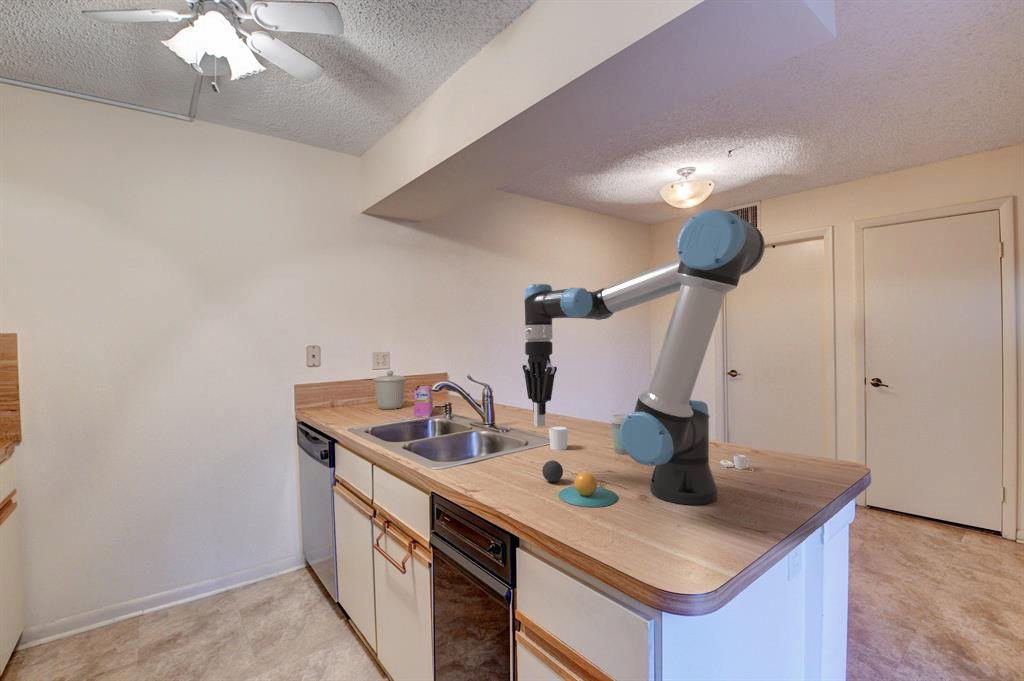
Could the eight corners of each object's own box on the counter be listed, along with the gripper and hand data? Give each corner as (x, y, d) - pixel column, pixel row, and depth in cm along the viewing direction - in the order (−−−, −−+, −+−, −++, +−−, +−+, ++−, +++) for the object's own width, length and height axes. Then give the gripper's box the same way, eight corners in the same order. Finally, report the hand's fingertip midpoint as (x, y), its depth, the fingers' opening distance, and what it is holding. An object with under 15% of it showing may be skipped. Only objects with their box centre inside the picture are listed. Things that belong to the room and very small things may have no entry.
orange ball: (583, 473, 111) (591, 495, 108) (566, 477, 108) (574, 500, 105) (596, 467, 107) (605, 490, 104) (579, 471, 104) (588, 494, 101)
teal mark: (630, 498, 103) (630, 497, 103) (586, 512, 96) (586, 511, 96) (588, 482, 115) (588, 482, 115) (546, 493, 107) (546, 492, 107)
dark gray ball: (552, 461, 121) (557, 481, 119) (536, 464, 118) (541, 485, 116) (563, 456, 117) (569, 477, 115) (547, 460, 114) (553, 481, 112)
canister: (388, 411, 232) (388, 372, 232) (366, 409, 242) (366, 371, 242) (413, 407, 247) (413, 370, 247) (391, 404, 257) (391, 369, 257)
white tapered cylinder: (567, 451, 148) (567, 430, 148) (547, 450, 149) (547, 429, 149) (569, 446, 155) (569, 426, 155) (549, 445, 156) (549, 425, 156)
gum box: (418, 410, 238) (418, 385, 238) (433, 409, 239) (432, 384, 239) (414, 417, 214) (413, 390, 214) (430, 417, 215) (430, 389, 215)
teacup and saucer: (715, 466, 130) (715, 453, 130) (737, 464, 132) (737, 450, 132) (739, 475, 121) (739, 460, 121) (761, 472, 124) (761, 458, 124)
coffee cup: (633, 457, 140) (632, 419, 140) (607, 453, 144) (606, 417, 144) (640, 451, 147) (640, 415, 147) (615, 447, 151) (615, 413, 151)
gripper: (514, 340, 124) (515, 423, 124) (542, 340, 114) (543, 431, 114) (535, 340, 129) (536, 420, 129) (564, 340, 118) (565, 428, 118)
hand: (539, 425), depth 121 cm, fingers closed
